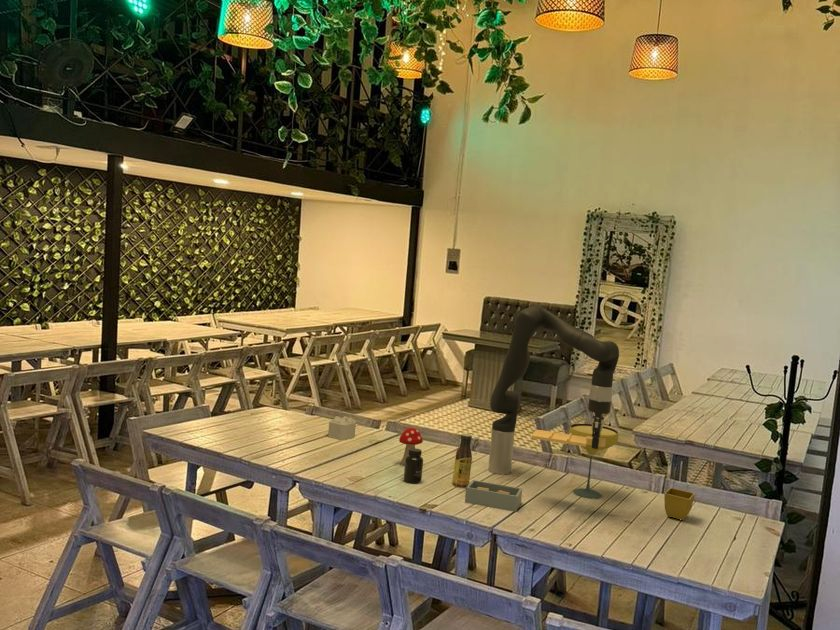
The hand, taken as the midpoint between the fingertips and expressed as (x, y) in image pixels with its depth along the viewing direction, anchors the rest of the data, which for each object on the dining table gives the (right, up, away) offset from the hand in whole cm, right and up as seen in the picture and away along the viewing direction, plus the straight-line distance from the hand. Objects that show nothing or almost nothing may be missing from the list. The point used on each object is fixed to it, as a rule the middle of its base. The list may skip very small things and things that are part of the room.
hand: (595, 446), depth 253 cm
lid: (-9, +2, +3) cm, 9 cm away
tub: (-35, -21, +2) cm, 41 cm away
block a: (-39, -19, +3) cm, 44 cm away
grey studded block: (-96, -9, +78) cm, 124 cm away
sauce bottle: (-46, -18, +18) cm, 53 cm away
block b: (-32, -20, +1) cm, 38 cm away
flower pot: (+30, -26, +5) cm, 40 cm away
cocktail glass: (+3, -22, +23) cm, 32 cm away
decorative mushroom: (-65, -15, +42) cm, 79 cm away
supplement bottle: (-64, -17, +21) cm, 69 cm away
